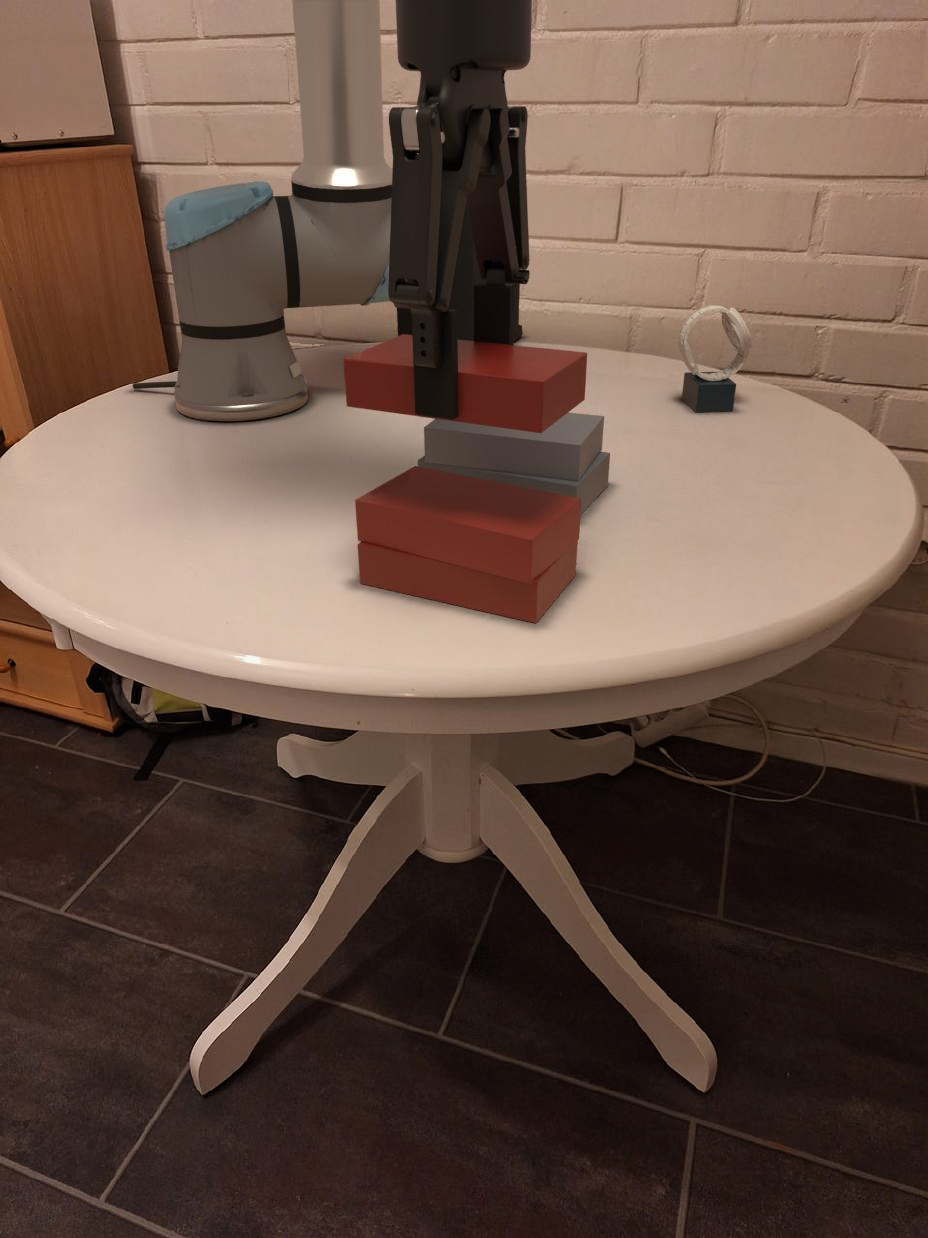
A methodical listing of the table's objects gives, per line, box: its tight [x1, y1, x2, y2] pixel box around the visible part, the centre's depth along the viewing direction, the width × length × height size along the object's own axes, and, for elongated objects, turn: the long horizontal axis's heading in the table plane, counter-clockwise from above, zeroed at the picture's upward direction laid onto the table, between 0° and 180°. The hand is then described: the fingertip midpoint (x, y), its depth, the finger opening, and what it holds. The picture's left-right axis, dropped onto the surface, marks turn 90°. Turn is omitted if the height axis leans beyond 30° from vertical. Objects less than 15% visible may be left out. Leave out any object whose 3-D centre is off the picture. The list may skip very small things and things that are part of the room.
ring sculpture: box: [677, 304, 754, 413], centre depth 103 cm, size 6×8×11 cm
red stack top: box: [354, 465, 582, 583], centre depth 65 cm, size 14×8×3 cm, turn 60°
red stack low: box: [357, 540, 579, 624], centre depth 67 cm, size 14×8×3 cm, turn 64°
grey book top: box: [423, 412, 605, 481], centre depth 81 cm, size 14×8×3 cm, turn 69°
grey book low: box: [417, 451, 611, 515], centre depth 82 cm, size 15×9×3 cm, turn 64°
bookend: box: [396, 203, 523, 342], centre depth 123 cm, size 23×11×24 cm, turn 160°
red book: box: [342, 334, 588, 433], centre depth 60 cm, size 14×8×3 cm, turn 64°
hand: (466, 397), depth 61 cm, fingers closed on red book, 8 cm apart
